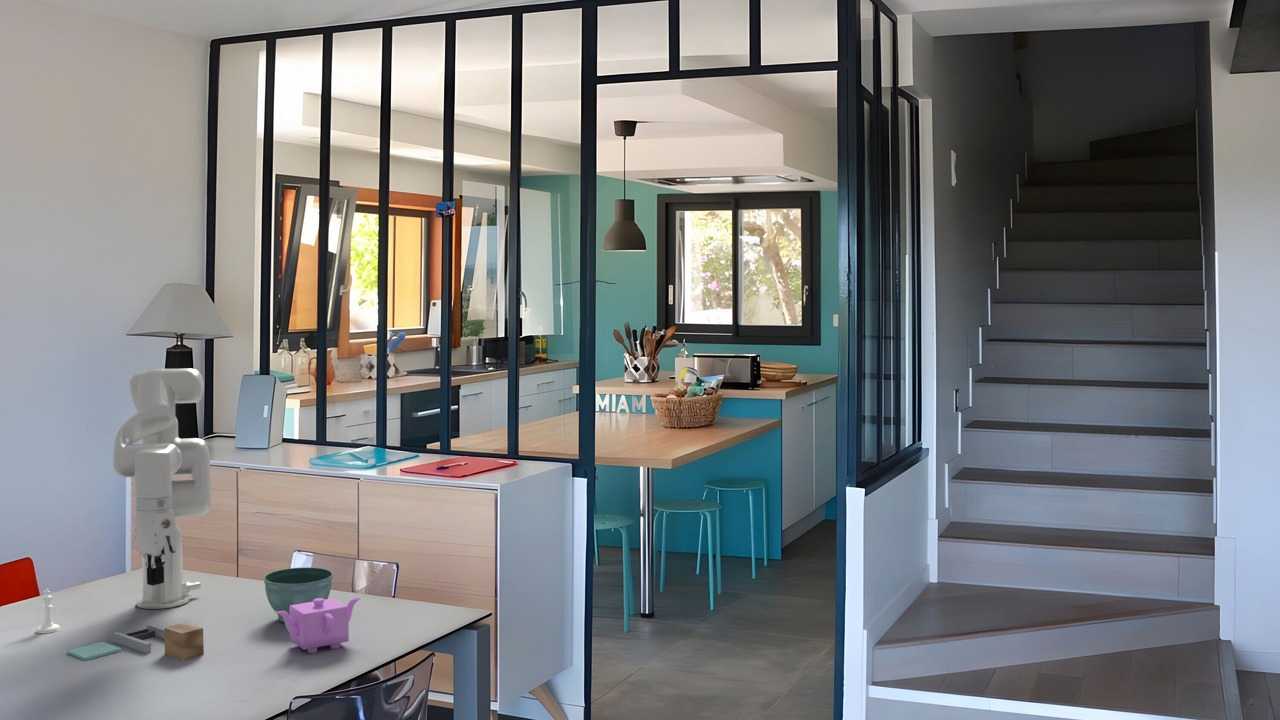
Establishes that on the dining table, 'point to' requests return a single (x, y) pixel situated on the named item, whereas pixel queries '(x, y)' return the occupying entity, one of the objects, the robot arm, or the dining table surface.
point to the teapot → (319, 623)
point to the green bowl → (296, 587)
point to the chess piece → (47, 616)
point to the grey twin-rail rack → (139, 638)
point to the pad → (93, 651)
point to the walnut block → (184, 641)
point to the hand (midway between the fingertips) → (155, 583)
